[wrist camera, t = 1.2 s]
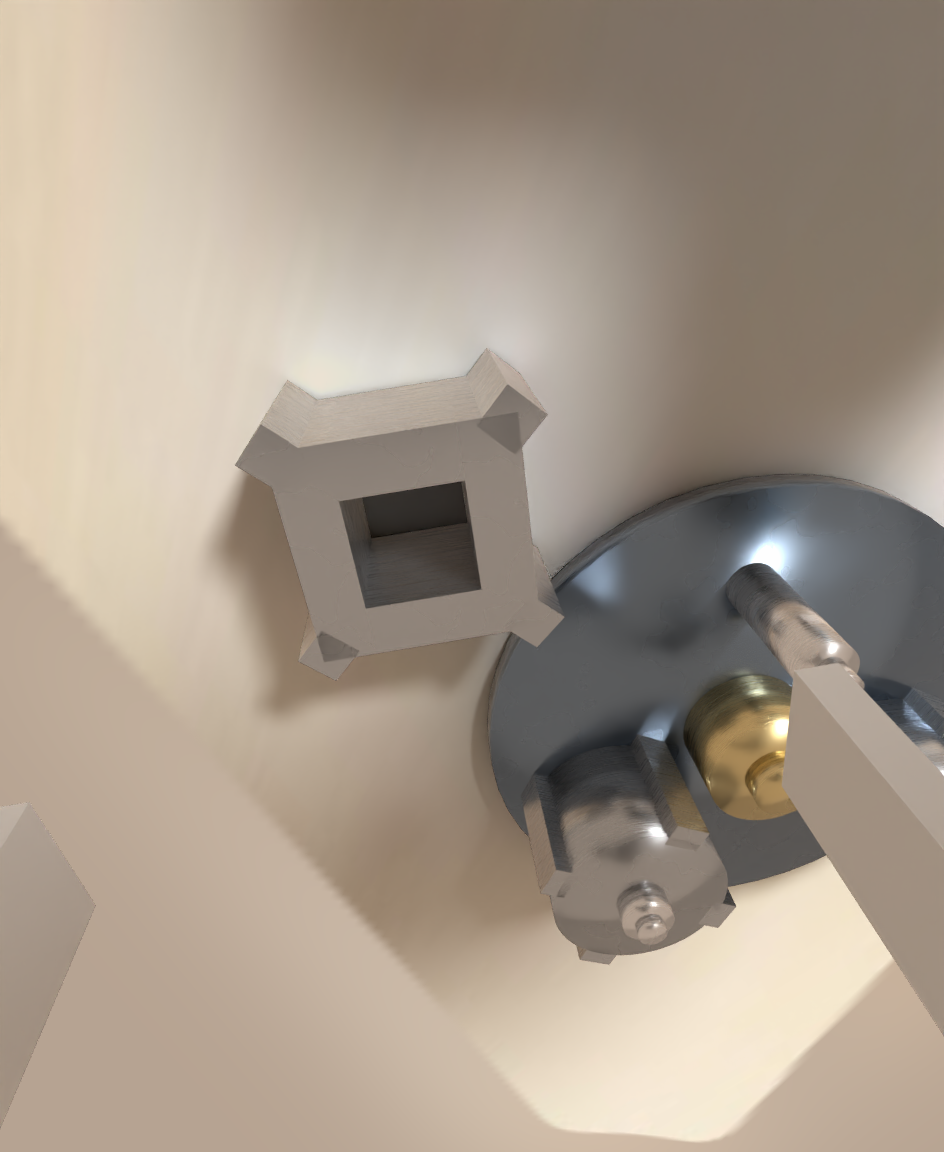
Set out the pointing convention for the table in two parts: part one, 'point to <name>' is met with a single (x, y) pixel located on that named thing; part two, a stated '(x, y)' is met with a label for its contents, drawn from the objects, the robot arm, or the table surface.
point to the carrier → (705, 694)
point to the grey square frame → (420, 558)
